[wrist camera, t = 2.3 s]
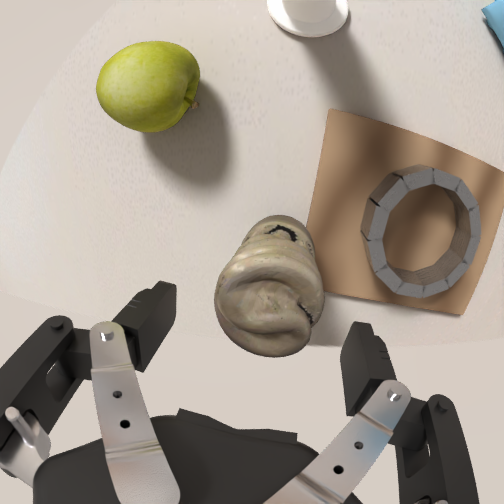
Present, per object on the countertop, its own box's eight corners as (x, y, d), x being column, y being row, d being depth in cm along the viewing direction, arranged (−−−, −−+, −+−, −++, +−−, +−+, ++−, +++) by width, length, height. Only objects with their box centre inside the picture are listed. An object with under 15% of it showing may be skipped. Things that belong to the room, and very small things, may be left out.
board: (505, 174, 20) (510, 175, 19) (459, 310, 26) (462, 314, 25) (328, 109, 21) (329, 108, 20) (294, 280, 28) (293, 285, 27)
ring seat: (476, 186, 20) (493, 192, 17) (442, 289, 24) (454, 304, 22) (377, 151, 21) (388, 152, 18) (347, 270, 25) (352, 285, 23)
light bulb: (249, 198, 25) (188, 272, 12) (311, 193, 24) (327, 265, 11) (257, 257, 27) (214, 372, 14) (315, 254, 26) (325, 373, 13)
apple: (204, 142, 24) (165, 145, 17) (122, 122, 24) (68, 123, 17) (230, 62, 21) (201, 32, 14) (144, 50, 21) (95, 29, 14)
